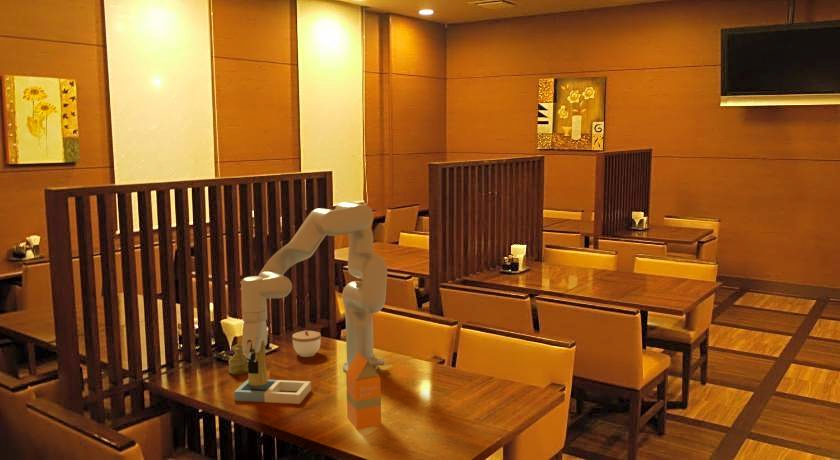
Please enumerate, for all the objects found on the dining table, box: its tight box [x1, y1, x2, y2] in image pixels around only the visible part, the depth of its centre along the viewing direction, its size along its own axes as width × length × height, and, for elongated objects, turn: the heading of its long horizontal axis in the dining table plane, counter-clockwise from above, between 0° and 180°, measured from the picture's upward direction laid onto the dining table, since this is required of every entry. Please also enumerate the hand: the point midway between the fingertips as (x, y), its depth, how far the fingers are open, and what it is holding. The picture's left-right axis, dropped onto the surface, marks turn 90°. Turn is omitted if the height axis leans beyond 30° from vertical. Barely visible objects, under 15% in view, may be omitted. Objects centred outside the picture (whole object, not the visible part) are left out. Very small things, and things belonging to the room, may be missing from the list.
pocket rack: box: [233, 379, 312, 405], centre depth 227 cm, size 22×12×3 cm, turn 81°
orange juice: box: [345, 352, 382, 430], centre depth 205 cm, size 8×9×20 cm
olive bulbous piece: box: [228, 343, 248, 376], centre depth 249 cm, size 7×7×10 cm
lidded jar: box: [291, 329, 322, 358], centre depth 267 cm, size 11×11×9 cm
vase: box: [247, 340, 268, 386], centre depth 226 cm, size 6×6×14 cm
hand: (257, 369), depth 227 cm, fingers closed on vase, 5 cm apart
